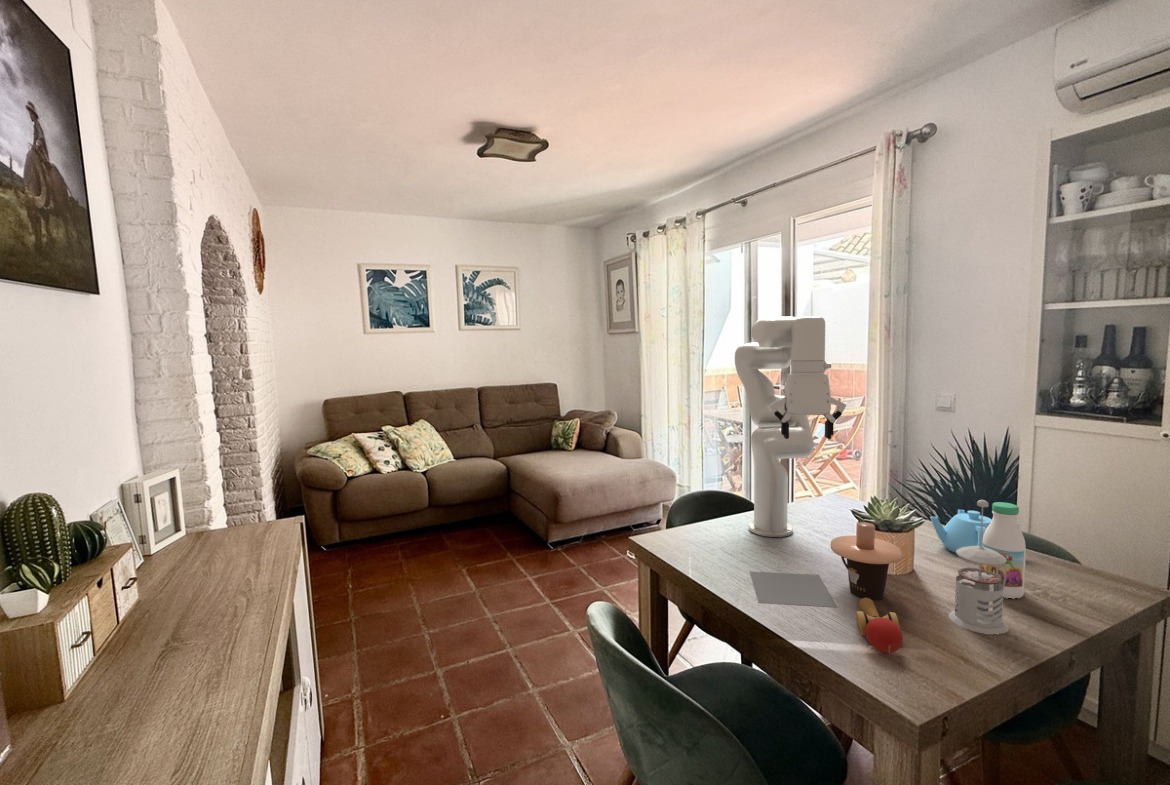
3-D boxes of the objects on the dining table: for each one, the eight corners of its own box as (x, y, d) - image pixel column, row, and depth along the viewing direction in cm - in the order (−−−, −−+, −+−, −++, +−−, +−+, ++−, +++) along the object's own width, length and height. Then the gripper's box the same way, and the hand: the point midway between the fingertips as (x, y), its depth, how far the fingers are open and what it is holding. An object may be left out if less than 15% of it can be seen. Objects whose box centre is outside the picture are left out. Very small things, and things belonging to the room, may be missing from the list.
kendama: (842, 615, 114) (860, 650, 97) (848, 586, 114) (867, 616, 97) (882, 626, 112) (907, 664, 95) (888, 596, 112) (914, 629, 95)
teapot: (924, 546, 147) (925, 508, 146) (958, 536, 153) (959, 500, 152) (985, 566, 133) (987, 524, 132) (1020, 555, 139) (1022, 515, 138)
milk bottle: (983, 581, 125) (987, 497, 123) (1026, 591, 120) (1030, 504, 118) (976, 592, 120) (980, 505, 118) (1021, 603, 114) (1025, 512, 113)
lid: (823, 538, 127) (823, 514, 127) (887, 541, 125) (887, 515, 124) (840, 562, 114) (841, 535, 113) (912, 565, 111) (913, 537, 111)
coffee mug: (894, 608, 114) (896, 562, 113) (851, 605, 115) (851, 560, 115) (876, 584, 125) (877, 542, 124) (837, 581, 127) (837, 540, 126)
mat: (749, 575, 131) (749, 571, 131) (818, 578, 129) (818, 574, 128) (758, 606, 116) (758, 602, 116) (837, 611, 113) (837, 607, 113)
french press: (936, 615, 111) (941, 496, 108) (974, 604, 115) (979, 489, 112) (987, 639, 101) (993, 510, 99) (1026, 626, 106) (1032, 502, 103)
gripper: (841, 366, 131) (840, 435, 133) (767, 367, 134) (767, 435, 136) (850, 368, 124) (849, 441, 126) (772, 369, 127) (772, 440, 129)
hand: (806, 438), depth 131 cm, fingers open, 9 cm apart
